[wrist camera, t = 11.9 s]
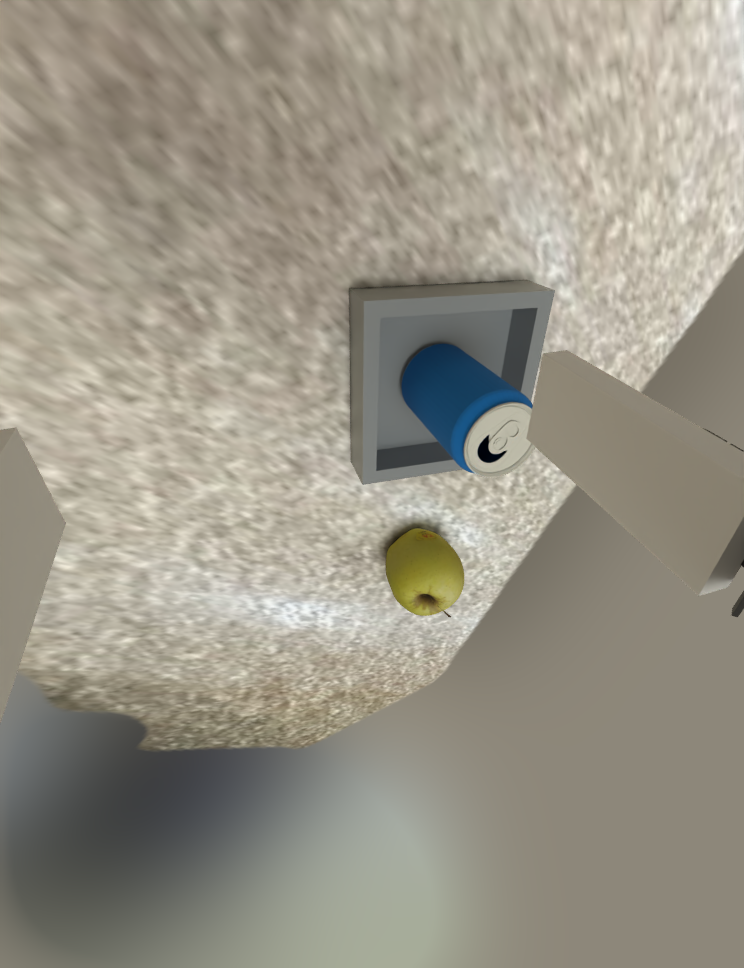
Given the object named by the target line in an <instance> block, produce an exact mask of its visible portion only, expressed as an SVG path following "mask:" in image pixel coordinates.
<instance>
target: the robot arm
mask: <svg viewBox="0 0 744 968" xmlns="http://www.w3.org/2000/svg"><path fill="white" fill-rule="evenodd" d="M526 439H527V440H528V441H529V442H531V443H532V444H533V445H534V446H535V447H536V448H537V449H538V450H539V451H540V452H541V453H543V454H544V455H545V456H546V457H547V458H548V459H549V460H550V461H551V462H552V463H554V464H555V465H556V466H557V467H558V468H559V469H560V470H561V471H562V472H563V473H565V474H566V475H567V476H568V477H569V478H570V479H571V480H572V481H573V482H574V483H575V484H577V485H578V486H579V487H580V488H581V489H582V490H583V491H584V492H586V494H588V495H589V496H590V497H591V498H592V499H593V500H594V501H595V502H596V503H597V504H599V505H600V506H601V507H602V508H603V509H604V510H605V511H606V512H607V513H609V515H611V516H612V517H613V518H614V519H615V520H616V521H617V522H618V523H619V524H620V525H622V526H623V527H624V528H625V529H626V530H627V531H628V532H629V533H630V534H631V535H632V536H634V537H635V538H636V539H637V540H638V541H639V542H640V543H641V544H642V545H643V546H645V547H646V548H647V549H648V550H649V551H650V552H651V553H652V554H653V555H654V556H656V557H657V558H658V559H659V560H660V561H661V562H662V563H663V564H664V565H665V566H666V567H668V568H669V569H670V570H671V571H672V572H673V573H674V574H675V575H676V576H677V577H678V578H680V579H681V580H682V581H683V582H684V583H685V584H686V585H687V586H688V587H689V588H691V589H692V590H693V591H694V592H695V593H696V594H697V595H698V596H699V595H703V594H706V593H710V592H713V591H716V590H720V589H724V588H727V587H728V586H729V585H730V583H731V582H732V580H733V578H734V577H735V575H736V573H737V572H738V570H739V569H740V567H741V565H742V566H743V567H744V452H743V450H741V449H740V448H738V447H736V446H734V445H733V444H729V443H727V441H726V440H724V439H722V438H721V437H719V436H717V435H715V434H714V433H712V432H710V431H708V430H706V429H703V428H701V427H699V426H697V425H696V424H694V423H692V422H691V421H689V420H687V419H685V418H684V417H682V416H680V415H678V414H677V413H675V412H673V411H672V410H670V409H668V408H666V407H665V406H663V405H661V404H659V403H658V402H656V401H654V400H652V399H651V398H649V397H647V396H645V395H644V394H642V393H640V392H639V391H637V390H635V389H633V388H632V387H630V386H628V385H626V384H625V383H623V382H621V381H620V380H618V379H616V378H614V377H613V376H611V375H609V374H607V373H606V372H604V371H602V370H600V369H599V368H597V367H595V366H593V365H592V364H590V363H588V362H587V361H585V360H583V359H581V358H580V357H578V356H576V355H574V354H573V353H571V352H569V351H567V350H565V351H558V352H551V353H544V354H543V357H542V362H541V367H540V372H539V377H538V382H537V387H536V392H535V397H534V402H533V407H532V412H531V417H530V422H529V427H528V432H527V437H526ZM65 524H66V522H65V520H64V519H63V517H62V515H61V513H60V511H59V509H58V507H57V505H56V503H55V501H54V499H53V497H52V495H51V493H50V491H49V490H48V488H47V486H46V484H45V482H44V480H43V478H42V476H41V474H40V472H39V470H38V468H37V466H36V464H35V462H34V461H33V459H32V457H31V455H30V453H29V451H28V449H27V447H26V445H25V443H24V441H23V439H22V437H21V435H20V434H19V432H18V430H17V428H10V429H3V430H0V723H1V720H2V717H3V714H4V711H5V708H6V704H7V702H8V699H9V695H10V692H11V689H12V686H13V683H14V680H15V677H16V674H17V671H18V668H19V665H20V662H21V659H22V656H23V653H24V650H25V647H26V644H27V640H28V637H29V634H30V631H31V628H32V625H33V622H34V619H35V616H36V613H37V610H38V607H39V604H40V601H41V598H42V595H43V592H44V588H45V585H46V582H47V579H48V576H49V573H50V570H51V567H52V564H53V561H54V558H55V555H56V552H57V549H58V546H59V543H60V540H61V537H62V533H63V530H64V527H65ZM743 609H744V591H743V593H742V594H741V596H740V597H739V599H738V600H737V602H736V604H735V605H734V607H733V608H732V616H735V617H738V616H739V615H740V613H741V612H742V610H743Z"/></svg>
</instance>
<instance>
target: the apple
mask: <svg viewBox="0 0 744 968" xmlns="http://www.w3.org/2000/svg"><path fill="white" fill-rule="evenodd" d="M386 575H387V579H388V582H389V584H390V587H391V590H392V592H393V595H394V597H395V598H396V600H397V601H398V602H399V603H400V604H401V605H402V606H403V607H404V608H406V609H407V610H408V611H410V612H412V613H414V614H416V615H422V616H427V615H433V614H436V613H439V612H441V611H443V612H444V613H445V614H446V615H447V616H448V617H451V616H450V615H448V614H447V613H446V612H445V611H444V610H445V609H447V608H449V607H450V606H451V605H452V604H453V603H454V602H455V601H456V600H457V599H458V598H459V596H460V594H461V592H462V590H463V585H464V570H463V566H462V563H461V560H460V558H459V557H458V555H457V553H456V552H455V550H454V549H453V548H452V547H451V546H450V545H449V544H448V542H447V541H445V540H444V539H443V538H442V537H441V536H439V535H438V534H436V533H434V532H432V531H428V530H425V529H419V528H416V529H412V530H410V531H408V532H407V533H405V534H404V535H402V536H401V537H400V538H399V539H398V540H396V541H395V542H394V543H393V544H392V545H391V546H390V548H389V549H388V552H387V556H386Z"/></svg>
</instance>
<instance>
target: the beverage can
mask: <svg viewBox="0 0 744 968" xmlns="http://www.w3.org/2000/svg"><path fill="white" fill-rule="evenodd" d="M401 390H402V396H403V398H404V401H405V403H406V404H407V406H408V407H409V408H410V409H411V410H412V412H413V413H414V414H415V415H416V416H417V417H418V419H419V420H420V421H421V422H422V423H423V424H424V426H425V427H426V428H427V429H428V430H429V431H430V433H431V434H432V435H433V436H434V437H435V438H436V440H437V441H438V442H439V443H440V444H441V445H442V447H443V448H444V449H445V450H446V451H447V452H448V454H449V455H450V456H451V457H452V458H453V459H454V461H455V462H456V463H457V464H458V465H459V466H460V467H461V468H463V469H464V470H466V471H468V472H471V473H475V474H477V475H479V476H481V477H486V478H495V477H500V476H503V475H506V474H508V473H510V472H512V471H514V470H516V469H517V468H518V467H520V466H521V465H522V464H523V463H524V462H525V461H526V460H527V459H528V458H529V457H530V455H531V454H532V453H533V451H534V449H535V446H534V445H533V444H532V443H531V442H529V441H528V440H527V439H526V437H527V432H528V427H529V422H530V417H531V412H532V407H533V405H532V403H531V401H530V400H529V399H528V398H527V397H526V396H525V395H524V394H523V393H521V392H520V391H518V390H517V389H516V388H514V387H513V386H511V385H510V384H509V383H507V382H506V381H504V380H503V379H502V378H500V377H499V376H498V375H496V374H495V373H493V372H492V371H491V370H489V369H488V368H486V367H485V366H484V365H482V364H481V363H479V362H478V361H477V360H475V359H474V358H472V357H471V356H470V355H468V354H467V353H465V352H464V351H463V350H461V349H460V348H458V347H456V346H454V345H451V344H435V345H432V346H429V347H427V348H425V349H423V350H422V351H420V352H419V353H418V354H416V355H415V356H414V357H413V358H412V360H411V361H410V362H409V364H408V365H407V367H406V369H405V371H404V374H403V377H402V384H401Z"/></svg>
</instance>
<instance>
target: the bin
mask: <svg viewBox="0 0 744 968" xmlns="http://www.w3.org/2000/svg"><path fill="white" fill-rule="evenodd" d="M554 292H555V290H552V289H549V288H547V287H544V286H541V285H539V284H536V283H533V282H531V281H528V280H515V281H494V282H474V283H453V284H433V285H412V286H392V287H371V288H351V289H349V316H350V424H351V463H352V465H353V467H354V469H355V471H356V473H357V475H358V477H359V479H360V480H361V482H362V484H363V485H364V484H371V483H377V482H384V481H390V480H397V479H403V478H409V477H416V476H422V475H429V474H435V473H442V472H448V471H455V470H461V469H463V468H461V467H460V466H459V465H458V464H457V463H456V462H455V461H454V459H453V458H452V457H451V456H450V455H449V454H448V452H447V451H446V450H445V449H444V448H443V447H442V445H441V444H440V443H439V442H438V441H437V440H436V438H435V437H434V436H433V435H432V434H431V433H430V431H429V430H428V429H427V428H426V427H425V426H424V424H423V423H422V422H421V421H420V420H419V419H418V417H417V416H416V415H415V414H414V413H413V412H412V410H411V409H410V408H409V407H408V406H407V404H406V403H405V401H404V398H403V396H402V390H401V384H402V377H403V374H404V371H405V369H406V367H407V365H408V364H409V362H410V361H411V360H412V358H413V357H414V356H415V355H416V354H418V353H419V352H420V351H422V350H423V349H425V348H427V347H429V346H432V345H435V344H451V345H454V346H456V347H458V348H460V349H461V350H463V351H464V352H465V353H467V354H468V355H470V356H471V357H472V358H474V359H475V360H477V361H478V362H479V363H481V364H482V365H484V366H485V367H486V368H488V369H489V370H491V371H492V372H493V373H495V374H496V375H498V376H499V377H500V378H502V379H503V380H504V381H506V382H507V383H509V384H510V385H511V386H513V387H514V388H516V389H517V390H518V391H520V392H521V393H523V394H524V395H525V396H526V397H527V398H528V399H529V400H530V401H531V398H532V394H533V389H534V385H535V380H536V375H537V371H538V366H539V361H540V357H541V352H542V348H543V343H544V338H545V334H546V329H547V324H548V320H549V315H550V311H551V306H552V301H553V297H554Z"/></svg>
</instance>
